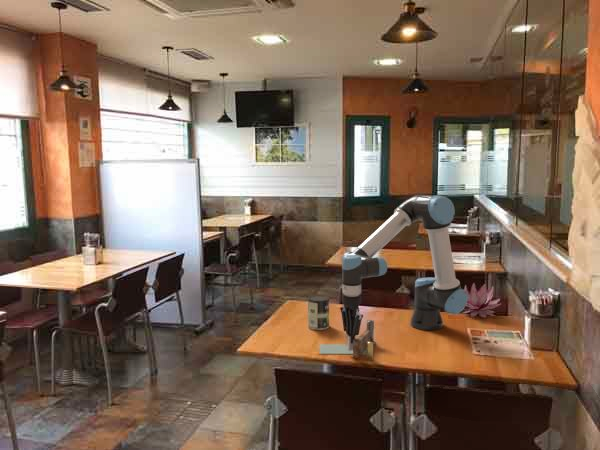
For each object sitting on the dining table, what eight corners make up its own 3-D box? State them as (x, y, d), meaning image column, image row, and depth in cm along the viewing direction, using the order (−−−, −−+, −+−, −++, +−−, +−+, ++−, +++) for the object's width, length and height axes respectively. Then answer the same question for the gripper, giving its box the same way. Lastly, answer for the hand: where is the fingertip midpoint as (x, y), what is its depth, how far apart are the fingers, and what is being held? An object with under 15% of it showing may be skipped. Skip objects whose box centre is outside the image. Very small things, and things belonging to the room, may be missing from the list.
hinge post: (375, 341, 207) (375, 319, 206) (376, 345, 203) (376, 323, 201) (363, 341, 208) (363, 319, 206) (364, 345, 203) (365, 323, 201)
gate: (365, 342, 203) (366, 327, 203) (370, 343, 203) (371, 327, 202) (352, 356, 189) (352, 340, 188) (357, 357, 188) (358, 340, 187)
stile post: (372, 358, 189) (372, 341, 189) (373, 360, 187) (373, 343, 186) (366, 358, 189) (366, 341, 189) (367, 360, 187) (367, 343, 186)
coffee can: (330, 323, 231) (330, 295, 230) (327, 330, 221) (327, 301, 220) (309, 322, 234) (309, 294, 232) (306, 329, 224) (305, 300, 222)
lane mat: (365, 345, 203) (365, 344, 203) (368, 354, 193) (368, 353, 193) (319, 345, 204) (319, 344, 204) (319, 354, 194) (319, 353, 194)
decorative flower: (481, 324, 229) (482, 294, 227) (447, 312, 247) (447, 284, 245) (509, 317, 239) (511, 288, 237) (475, 306, 258) (476, 279, 256)
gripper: (334, 291, 193) (334, 346, 197) (353, 299, 182) (352, 357, 185) (350, 288, 197) (349, 342, 200) (368, 296, 186) (367, 353, 189)
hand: (350, 349), depth 193 cm, fingers closed
